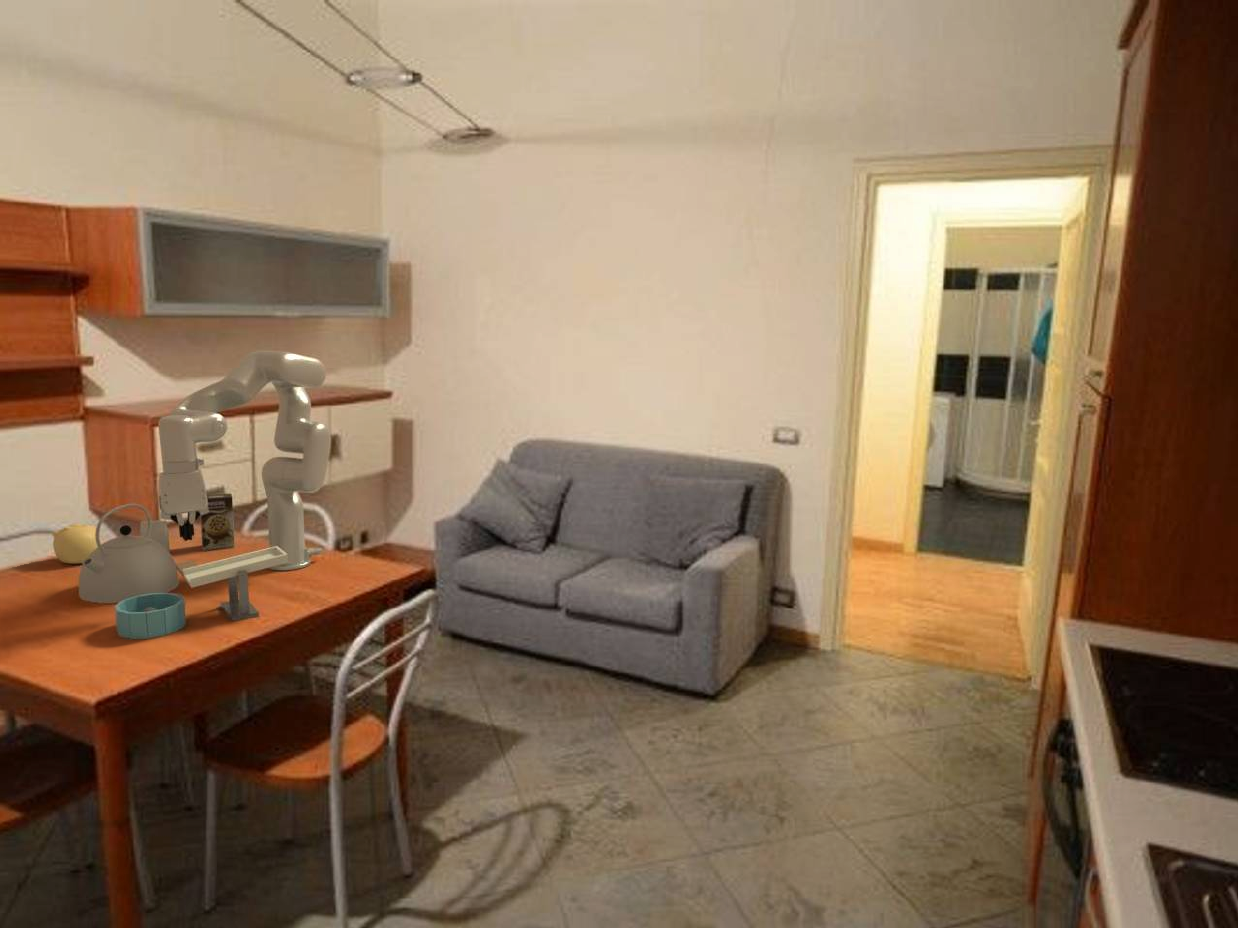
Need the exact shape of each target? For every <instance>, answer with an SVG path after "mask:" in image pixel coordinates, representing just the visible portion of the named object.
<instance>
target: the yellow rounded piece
mask: <svg viewBox="0 0 1238 928" xmlns="http://www.w3.org/2000/svg"><path fill="white" fill-rule="evenodd" d="M96 527H97V526H95V525H89V524H88V525H87V524H78V523H74V524H70V525H69V526H67V527H62V528H60V529H58V530H55V531H53V532H52V536H53V542H52V543H53V544H52V547H53V550H54V554H55V557H57V559H58V561H60V562H61V563H65V564H82V563H83V561H84V560H86V559H87V557H88V556H89V555H90V554H91V553H92V552H93V551H94V550H95V549H96V548H97V547H98V546H97V543H96V538H95V533H96ZM99 539H100V543H101V545H102V544H103V542H102V539H101V536H100V535H99Z"/></svg>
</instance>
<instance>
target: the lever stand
mask: <svg viewBox="0 0 1238 928" xmlns="http://www.w3.org/2000/svg"><path fill="white" fill-rule="evenodd" d="M248 579H249V577H248V573H247V571H242V572H238V576H234V577H230V578H227V586H228V601H222V602H219V604H220V605H219V606H220V608H221V610H222V611H223V612H224V613H225V614H226V615H227V616H228V618H229V619H230V620H231V621H232V622H236V620H237V621H242V620H246V619H253V618H257V617H260V612H259V611H258V610H257V609H256V607H255V606H254V605H253V604H252V603H251V602H250V596H249V595H250V594H249V580H248Z"/></svg>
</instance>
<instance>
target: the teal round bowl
mask: <svg viewBox="0 0 1238 928" xmlns="http://www.w3.org/2000/svg"><path fill="white" fill-rule="evenodd" d="M150 607H152V608H155V609H157V610H155V611H149V612H142V611H143V610H144V609H146V608H150ZM114 611H115V612H114V613H115V624H116V625H115V626H116V627H115V628H116V632H117V635H118V636H119V637H120V638H125V639H128V638H129V639H128V640H147V639H154V638H158V637H164V636H168V635H171V634H173V633H175V632H177V631H180V630H181V629H183V628H184V627H185V625H186V624H187V618H186V606H185V598H184V597H183V595H181V594H178V593H173V592H167V593H151V594H145V595H139V596H135V597H132V598H129V599H125V600H122V601H121V602H120V603H116V605H114Z"/></svg>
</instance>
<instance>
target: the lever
mask: <svg viewBox="0 0 1238 928" xmlns="http://www.w3.org/2000/svg"><path fill="white" fill-rule="evenodd" d="M287 562H288V554H287V553H285V552H284V551H283V550H282V549H280V548H279V547H278V546H274V547H270V548H269V547H267V548H263V549H259V550H254V551H251V552H247V553H243V554H242V553H241V554H238V555H234V556H231V557H227V558H223V559H219V560H215V561H211V562H210V561H209V562H207V563H203V564H199V565H198V564H197V562H196V561H195V560H194V559H190V560H187V561H186V560H185V561H183V562H179V563H175V565H176V568H177V572H179V574H181V576H182V578H183V579H184V580H185V581H186V583H187V584H188V585H189V586H190V588H195V587H199V586H204V585H206V584H210V583H211V584H212V583H215V582H218V581H221V580H222V581H223V580H227V579H228V578H230V577H234V576H237V577H238V572H242V571H247V574H248V573H253V572H258V571H260V570H264V569H268V567H272V566H276V565H280V564H284V563H287Z"/></svg>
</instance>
